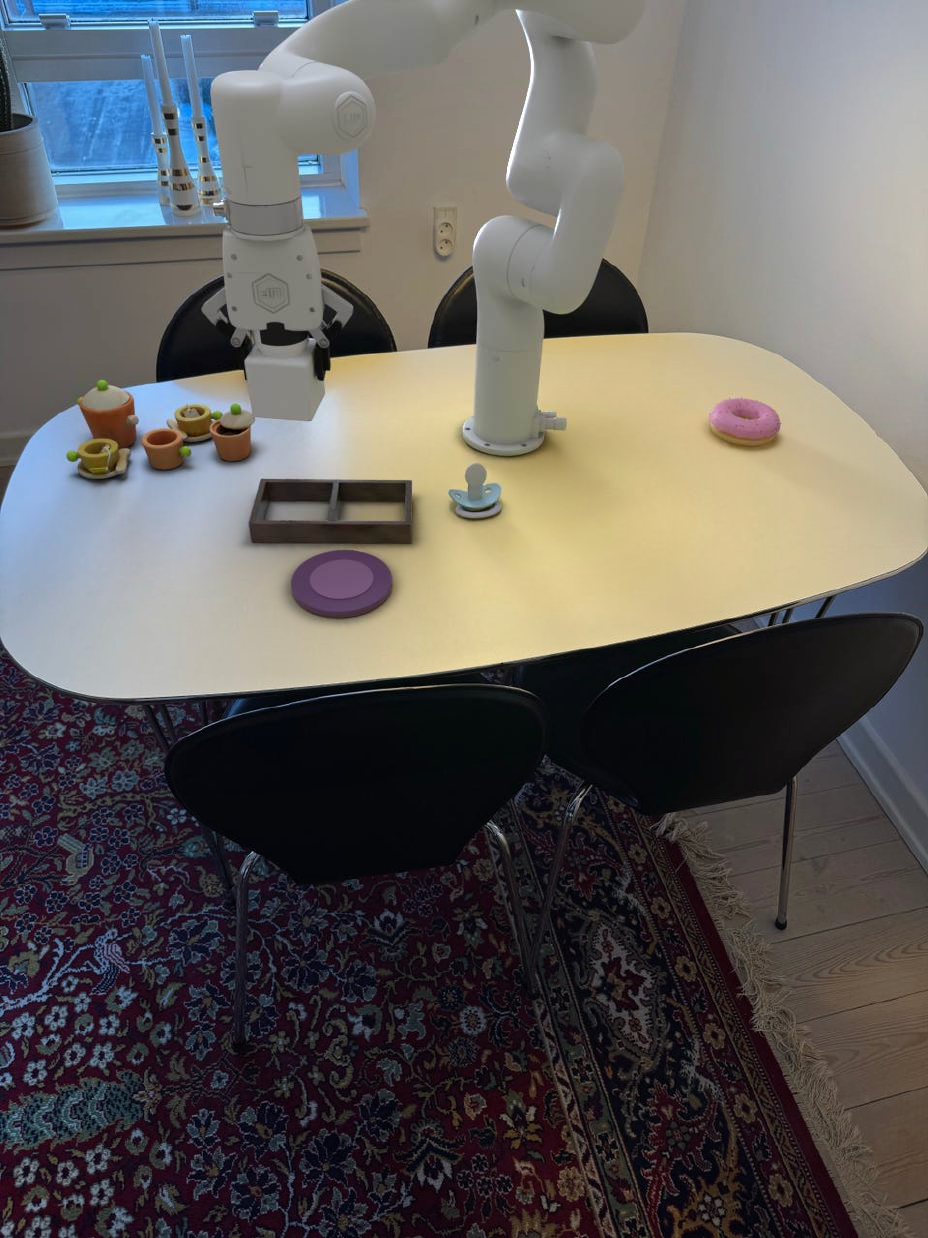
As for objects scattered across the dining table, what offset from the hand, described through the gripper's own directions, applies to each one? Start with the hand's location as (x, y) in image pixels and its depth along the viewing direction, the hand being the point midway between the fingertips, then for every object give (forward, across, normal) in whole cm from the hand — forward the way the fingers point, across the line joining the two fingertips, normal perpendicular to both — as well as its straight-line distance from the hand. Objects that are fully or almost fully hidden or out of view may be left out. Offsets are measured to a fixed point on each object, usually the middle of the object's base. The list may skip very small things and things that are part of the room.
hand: (286, 374), depth 99 cm
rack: (+21, +4, +1) cm, 21 cm away
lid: (+21, +6, -13) cm, 25 cm away
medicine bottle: (+4, 0, 0) cm, 4 cm away
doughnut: (+22, +66, +26) cm, 74 cm away
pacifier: (+21, +23, +4) cm, 32 cm away
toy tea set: (+21, -22, +18) cm, 36 cm away
